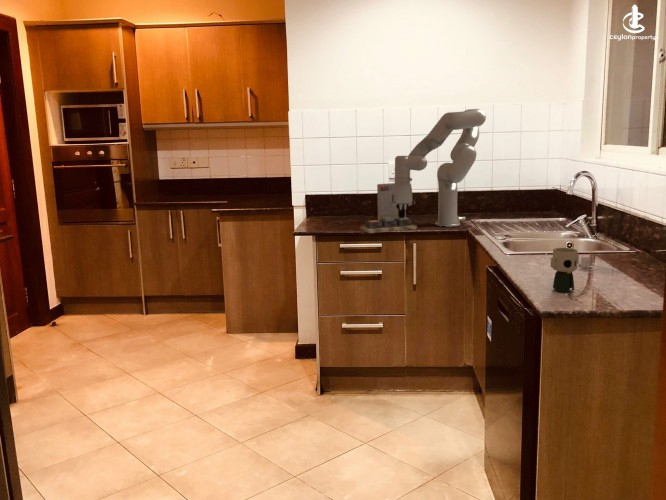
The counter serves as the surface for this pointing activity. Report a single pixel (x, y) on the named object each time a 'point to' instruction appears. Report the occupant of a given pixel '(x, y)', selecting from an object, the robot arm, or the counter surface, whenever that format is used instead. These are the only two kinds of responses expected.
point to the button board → (387, 226)
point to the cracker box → (386, 202)
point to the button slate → (388, 218)
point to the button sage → (403, 218)
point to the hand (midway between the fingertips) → (401, 217)
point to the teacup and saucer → (585, 263)
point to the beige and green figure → (564, 268)
